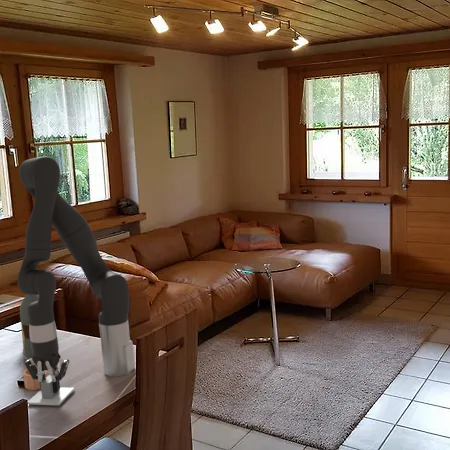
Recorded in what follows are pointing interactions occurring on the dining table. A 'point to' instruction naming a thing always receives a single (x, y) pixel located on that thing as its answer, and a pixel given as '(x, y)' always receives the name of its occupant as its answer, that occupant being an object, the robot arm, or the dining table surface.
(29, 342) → the bottle
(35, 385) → the bowl
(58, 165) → the robot arm
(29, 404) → the mat
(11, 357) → the dining table surface
